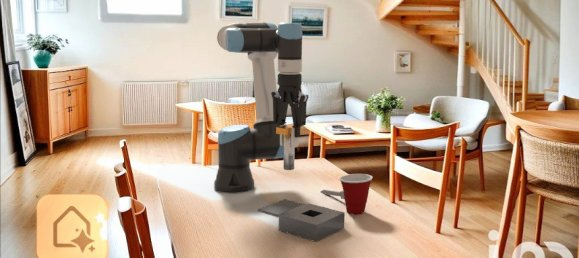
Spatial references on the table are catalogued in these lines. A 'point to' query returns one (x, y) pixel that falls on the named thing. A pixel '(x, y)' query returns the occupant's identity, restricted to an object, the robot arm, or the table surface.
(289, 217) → the block
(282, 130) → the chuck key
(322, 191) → the caliper
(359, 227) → the table surface
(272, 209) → the key mat
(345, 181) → the plastic cup
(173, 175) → the table surface
